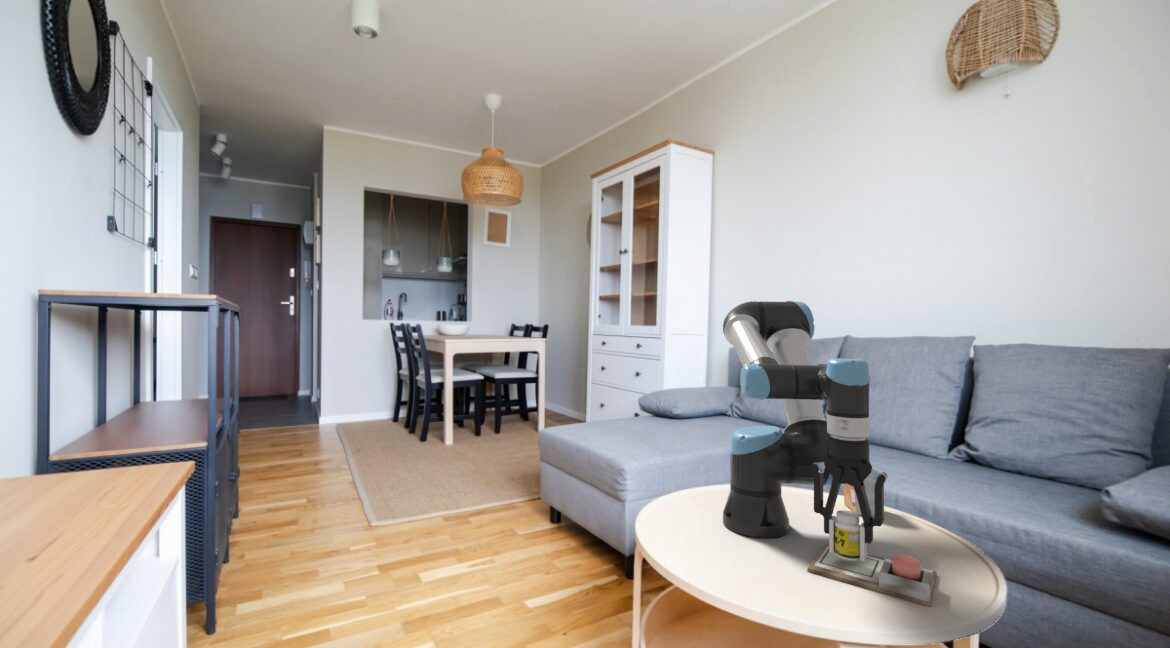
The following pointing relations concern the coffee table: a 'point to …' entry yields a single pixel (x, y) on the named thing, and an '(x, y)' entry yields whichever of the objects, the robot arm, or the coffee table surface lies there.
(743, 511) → the robot arm
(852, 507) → the small box
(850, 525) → the supplement bottle
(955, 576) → the coffee table surface
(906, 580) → the board
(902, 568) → the button
